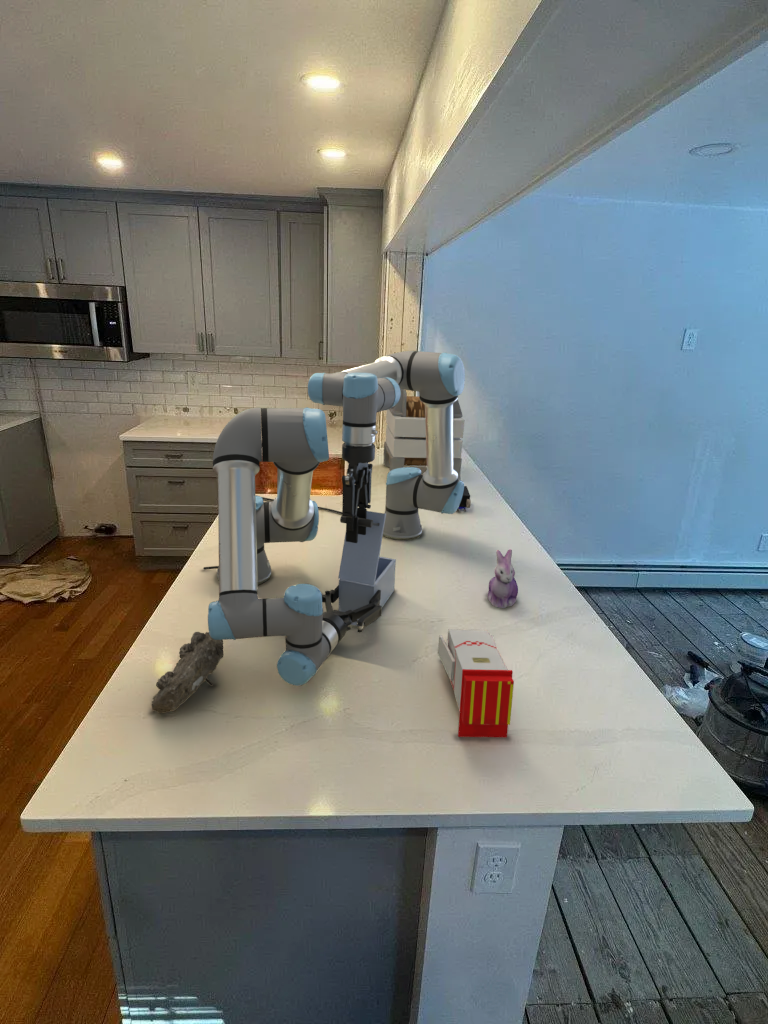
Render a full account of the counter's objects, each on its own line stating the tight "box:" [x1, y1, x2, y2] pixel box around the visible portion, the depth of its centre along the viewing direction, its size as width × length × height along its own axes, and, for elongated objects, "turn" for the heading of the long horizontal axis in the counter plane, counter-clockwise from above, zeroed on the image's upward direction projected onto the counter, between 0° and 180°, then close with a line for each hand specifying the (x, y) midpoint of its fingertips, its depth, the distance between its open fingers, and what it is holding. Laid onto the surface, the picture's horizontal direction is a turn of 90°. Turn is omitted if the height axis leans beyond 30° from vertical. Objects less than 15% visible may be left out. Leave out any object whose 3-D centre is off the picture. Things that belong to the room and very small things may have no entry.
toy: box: [437, 628, 515, 738], centre depth 117 cm, size 12×13×30 cm
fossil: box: [151, 631, 225, 714], centre depth 116 cm, size 22×10×15 cm
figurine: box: [487, 548, 519, 609], centre depth 154 cm, size 9×10×15 cm
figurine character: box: [456, 485, 472, 513], centre depth 228 cm, size 7×8×15 cm
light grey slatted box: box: [383, 389, 465, 481], centre depth 268 cm, size 34×33×41 cm
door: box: [338, 510, 386, 585], centre depth 138 cm, size 18×10×8 cm
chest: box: [338, 555, 397, 612], centre depth 151 cm, size 18×10×10 cm, turn 161°
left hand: (360, 590), depth 146 cm, fingers closed on chest, 9 cm apart
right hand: (356, 537), depth 137 cm, fingers open, 5 cm apart
